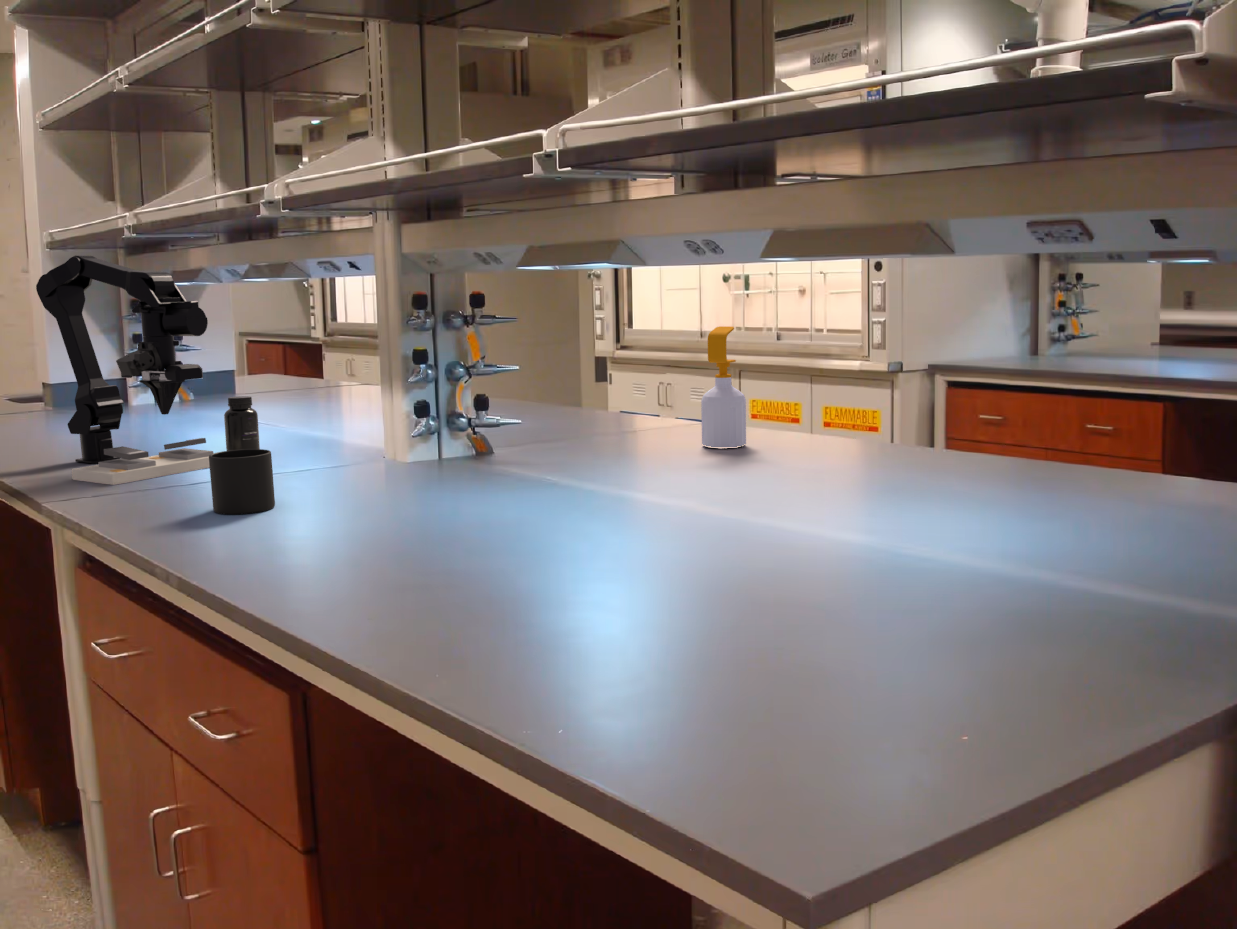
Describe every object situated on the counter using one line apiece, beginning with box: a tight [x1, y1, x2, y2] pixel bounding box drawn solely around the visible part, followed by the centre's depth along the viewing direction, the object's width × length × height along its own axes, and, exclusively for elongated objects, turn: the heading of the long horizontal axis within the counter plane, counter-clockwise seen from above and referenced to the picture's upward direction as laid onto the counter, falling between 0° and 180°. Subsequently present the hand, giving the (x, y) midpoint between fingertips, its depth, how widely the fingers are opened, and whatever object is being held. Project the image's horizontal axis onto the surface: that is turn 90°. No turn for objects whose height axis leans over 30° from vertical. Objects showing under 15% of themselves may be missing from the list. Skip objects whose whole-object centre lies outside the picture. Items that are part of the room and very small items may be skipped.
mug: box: [209, 448, 276, 516], centre depth 181 cm, size 9×12×9 cm
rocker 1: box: [104, 446, 150, 460], centre depth 215 cm, size 8×4×1 cm, turn 57°
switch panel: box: [71, 447, 215, 486], centre depth 220 cm, size 13×25×3 cm, turn 147°
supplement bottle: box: [223, 395, 261, 451], centre depth 241 cm, size 7×7×12 cm
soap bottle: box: [700, 325, 747, 447], centre depth 232 cm, size 9×9×25 cm
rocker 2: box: [163, 437, 207, 451], centre depth 225 cm, size 8×4×1 cm, turn 57°
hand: (165, 414), depth 227 cm, fingers closed
